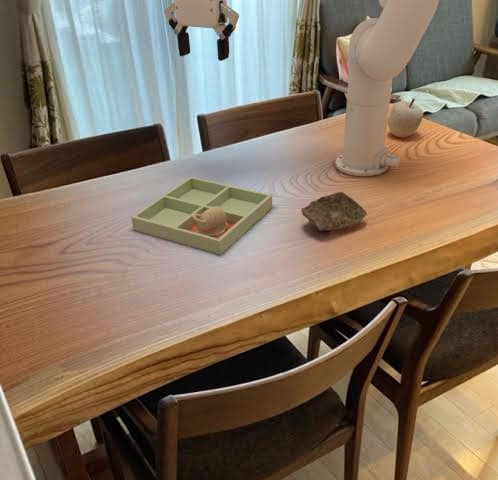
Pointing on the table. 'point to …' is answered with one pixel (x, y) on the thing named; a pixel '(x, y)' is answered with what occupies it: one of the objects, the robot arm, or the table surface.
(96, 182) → the table surface
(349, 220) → the stone
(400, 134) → the decorative object
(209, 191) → the grid
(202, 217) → the decorative ornament
